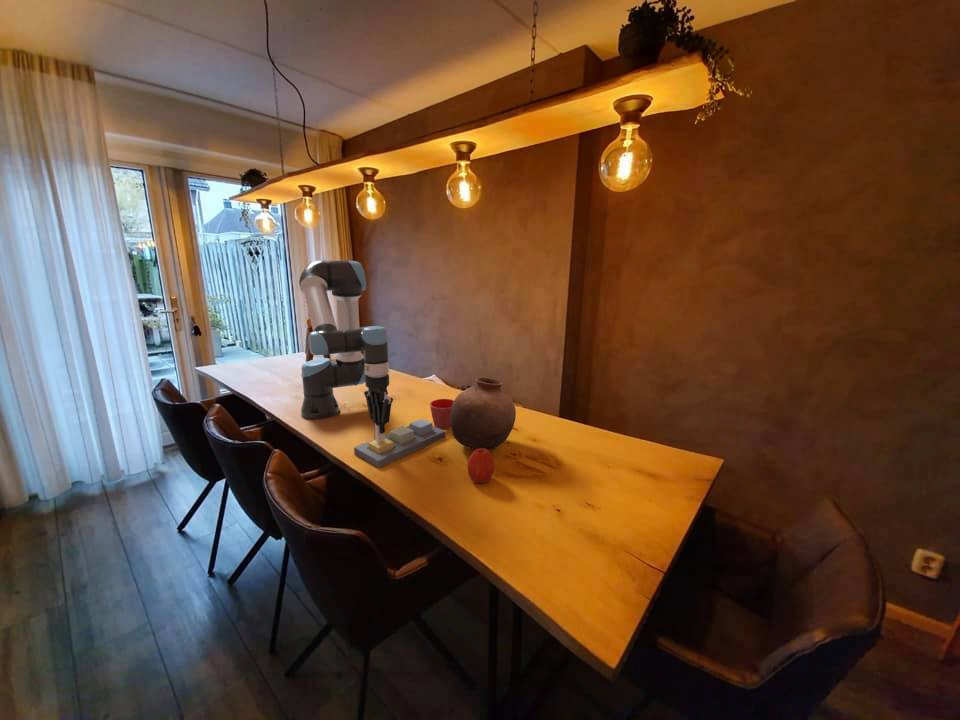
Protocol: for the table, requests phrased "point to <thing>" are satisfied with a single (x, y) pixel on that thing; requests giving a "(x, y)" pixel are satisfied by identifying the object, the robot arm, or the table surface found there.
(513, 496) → the table surface
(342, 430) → the table surface
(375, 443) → the ochre button
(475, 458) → the red oval body
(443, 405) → the flower pot
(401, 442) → the sage button
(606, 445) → the table surface
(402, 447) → the button board
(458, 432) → the pottery
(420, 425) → the blue button
